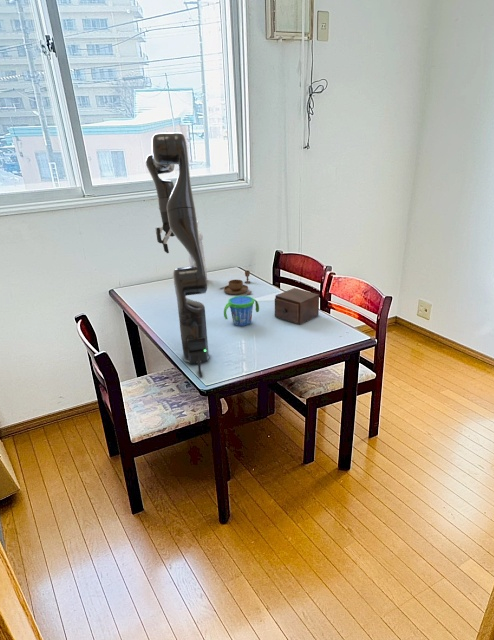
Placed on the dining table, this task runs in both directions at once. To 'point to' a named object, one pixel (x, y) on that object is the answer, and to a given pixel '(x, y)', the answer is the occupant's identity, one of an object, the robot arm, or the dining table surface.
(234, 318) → the snack cup
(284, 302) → the drawer
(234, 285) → the place setting
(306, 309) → the cabinet
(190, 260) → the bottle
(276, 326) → the dining table surface
